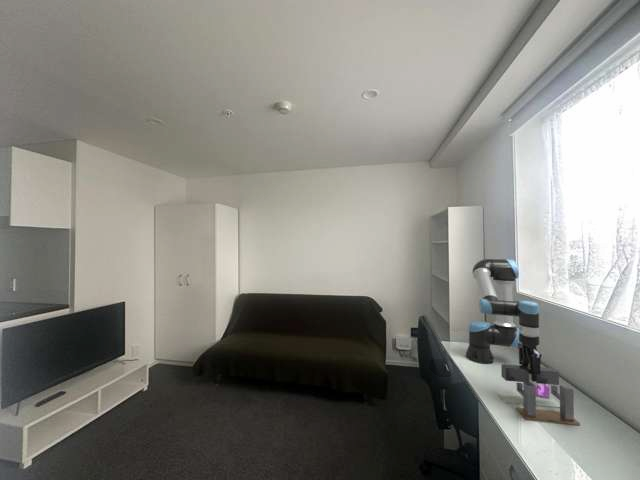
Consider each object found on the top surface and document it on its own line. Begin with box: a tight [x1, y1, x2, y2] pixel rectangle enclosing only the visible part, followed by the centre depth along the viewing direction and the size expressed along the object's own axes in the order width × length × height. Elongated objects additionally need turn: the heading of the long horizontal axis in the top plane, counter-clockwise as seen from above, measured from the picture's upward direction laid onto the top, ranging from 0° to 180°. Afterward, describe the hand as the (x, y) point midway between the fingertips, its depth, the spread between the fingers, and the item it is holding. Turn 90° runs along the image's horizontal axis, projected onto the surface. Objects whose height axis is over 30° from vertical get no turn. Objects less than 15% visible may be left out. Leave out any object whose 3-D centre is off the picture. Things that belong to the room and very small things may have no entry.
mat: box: [497, 393, 560, 409], centre depth 121 cm, size 6×24×1 cm, turn 81°
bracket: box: [536, 383, 551, 399], centre depth 130 cm, size 13×6×7 cm, turn 149°
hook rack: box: [515, 382, 581, 426], centre depth 112 cm, size 10×20×14 cm, turn 81°
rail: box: [500, 363, 560, 386], centre depth 121 cm, size 4×22×6 cm, turn 81°
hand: (529, 384), depth 121 cm, fingers closed on rail, 4 cm apart
